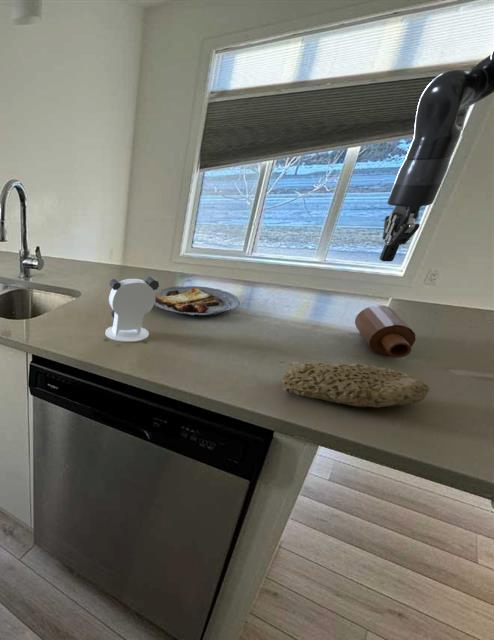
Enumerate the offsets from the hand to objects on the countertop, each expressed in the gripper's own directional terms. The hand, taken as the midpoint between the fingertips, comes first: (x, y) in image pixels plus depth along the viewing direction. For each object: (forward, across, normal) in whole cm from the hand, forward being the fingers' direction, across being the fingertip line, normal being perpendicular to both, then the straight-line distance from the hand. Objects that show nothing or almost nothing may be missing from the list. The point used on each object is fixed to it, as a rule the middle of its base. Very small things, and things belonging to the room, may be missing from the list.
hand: (385, 260), depth 97 cm
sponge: (+16, -44, +12) cm, 48 cm away
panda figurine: (+16, -22, +55) cm, 62 cm away
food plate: (+16, +4, +40) cm, 43 cm away
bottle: (+12, -8, 0) cm, 15 cm away
